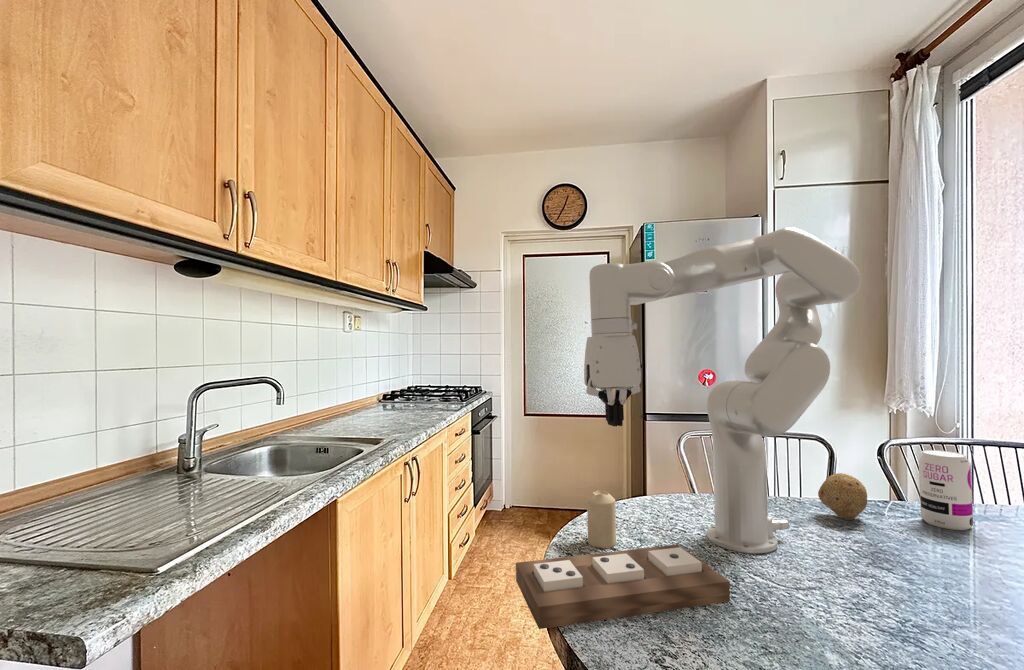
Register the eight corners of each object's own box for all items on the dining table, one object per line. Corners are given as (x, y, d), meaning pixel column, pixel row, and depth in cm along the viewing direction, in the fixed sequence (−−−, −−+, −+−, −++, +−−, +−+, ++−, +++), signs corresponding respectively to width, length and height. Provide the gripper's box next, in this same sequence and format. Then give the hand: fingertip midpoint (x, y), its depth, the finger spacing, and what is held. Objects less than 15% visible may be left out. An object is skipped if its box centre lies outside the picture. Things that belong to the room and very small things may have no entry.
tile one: (680, 565, 81) (680, 546, 81) (702, 581, 75) (701, 561, 75) (648, 569, 80) (648, 550, 80) (667, 586, 74) (667, 565, 74)
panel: (678, 561, 85) (677, 544, 85) (730, 601, 72) (729, 581, 72) (516, 581, 79) (515, 562, 79) (538, 629, 65) (538, 607, 65)
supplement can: (967, 521, 103) (964, 451, 103) (978, 534, 96) (974, 459, 96) (918, 515, 107) (915, 448, 107) (925, 526, 100) (922, 455, 100)
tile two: (626, 571, 79) (626, 552, 79) (644, 589, 73) (643, 568, 73) (592, 575, 77) (592, 556, 78) (608, 594, 72) (607, 573, 72)
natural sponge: (812, 517, 106) (810, 472, 106) (828, 509, 111) (827, 466, 112) (860, 529, 99) (858, 481, 99) (875, 520, 104) (873, 474, 104)
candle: (616, 549, 91) (615, 496, 91) (587, 547, 92) (586, 495, 92) (615, 538, 96) (614, 488, 96) (588, 536, 97) (587, 487, 97)
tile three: (569, 578, 77) (569, 558, 77) (583, 597, 71) (582, 576, 71) (533, 583, 75) (533, 563, 75) (544, 602, 69) (544, 580, 70)
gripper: (637, 329, 96) (640, 419, 96) (567, 330, 93) (571, 425, 92) (656, 327, 89) (660, 425, 88) (582, 328, 85) (585, 431, 85)
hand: (614, 424), depth 90 cm, fingers closed
